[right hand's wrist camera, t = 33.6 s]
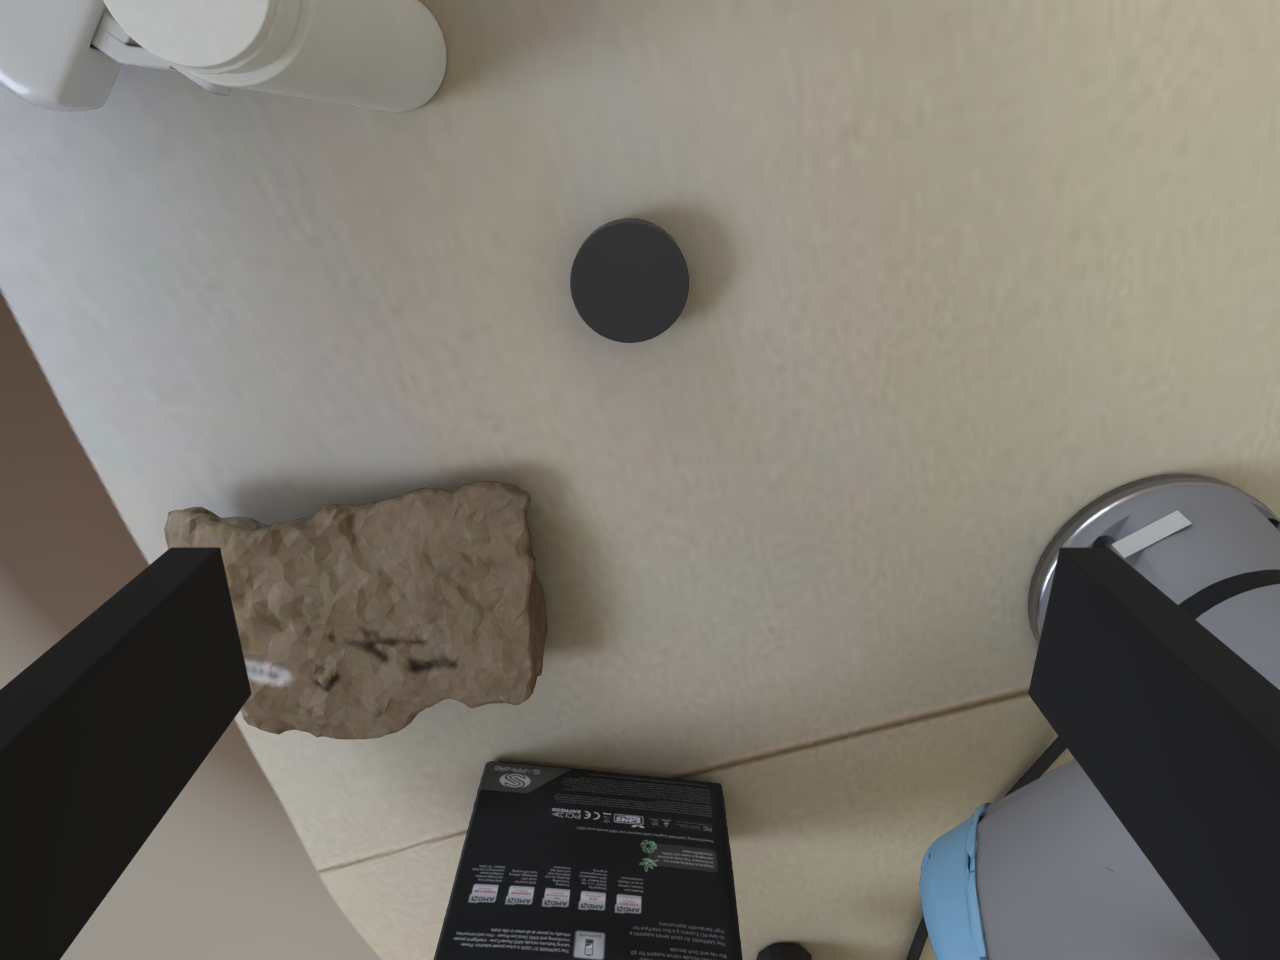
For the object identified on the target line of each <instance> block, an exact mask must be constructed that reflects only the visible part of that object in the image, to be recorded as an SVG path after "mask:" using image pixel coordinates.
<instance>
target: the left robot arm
mask: <svg viewBox="0 0 1280 960" xmlns="http://www.w3.org/2000/svg"><path fill="white" fill-rule="evenodd" d="M122 64H128V65H134V66H140V67H146V68H154V69H163V70H173V71H179V72H180V73H182V74H183V75H185V76H186V77H188V78H189V79H191V80H192V81H194V82H195V83H197V84H198V85H199V86H201V87H202V88H204V89H206V90H208V91H210V92H212V93H214V94H217V95H225V96H228V94H229V92H230V89H231V87H227V86H221V85H217V84H213V83H210V82H207V81H205V80H202V79H199V78H197V77H195V76H194V75H192V74H190V73H188V72H186V71H185V70H183V69H181V68H178V67H175V66H171V64H169V63H167V62H166V61H164V60H162V59H161V58H159V57H157V56H156V55H154V54H152V53H150V52H149V51H147V50H146V49H145V48H143V47H142V46H140V45H139V44H138V43H137V42H136V41H134V40H133V39H132V38H131V37H130V36H129V35H128V34H127V33H126V32H125V31H124V30H123V29H122V27H121V26H120V25H119V24H118V22H117V21H116V20H115V18H114V17H113V16H112V14H111V13H110V11H109V9H108V8H107V6H106V4H105V3H104V0H0V84H1V85H2V86H3V87H5V88H6V89H8V90H9V91H10V92H12V93H13V94H15V95H16V96H18V97H19V98H21V99H22V100H24V101H25V102H27V103H29V104H31V105H33V106H36V107H39V108H43V109H48V110H55V111H83V110H91V109H97V108H100V107H102V106H103V105H104V104H105V102H106V100H107V99H108V96H109V94H110V92H111V89H112V87H113V84H114V82H115V80H116V77H117V75H118V72H119V70H120V68H121V65H122Z"/></svg>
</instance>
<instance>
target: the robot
mask: <svg viewBox="0 0 1280 960" xmlns="http://www.w3.org/2000/svg"><path fill="white" fill-rule="evenodd" d="M757 960H811V954H809V953H808V952H807V951H806V950H805V949H804V948H802V947H801V946H800V945H786V944H778V945H773V946H769V947H767V948H766V949H764V950H763V951H761V952H760V953H758V957H757Z"/></svg>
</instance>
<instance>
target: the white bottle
mask: <svg viewBox="0 0 1280 960" xmlns="http://www.w3.org/2000/svg"><path fill="white" fill-rule="evenodd" d="M104 3H105V4H106V6H107V8H108V9H109V11H110V13H111V14H112V16H113V17H114V18H115V20H116V21H117V22H118V24H119V25H120V26H121V27H122V29H123V30H124V31H125V32H126V33H127V34H128V35H129V36H130V37H131V38H132V39H133V40H134V41H136V42H137V43H138V44H139V45H140V46H142V47H143V48H145V49H146V50H147V51H149V52H150V53H152V54H154V55H156V56H157V57H159V58H161V59H162V60H164V61H166V62H167V63H169V64H171V66H175V67H178V68H181V69H183V70H185V71H186V72H188V73H190V74H192V75H194V76H195V77H197V78H199V79H202V80H205V81H207V82H210V83H213V84H217V85H221V86H227V87H234V88H240V89H247V90H253V91H260V92H266V93H273V94H279V95H286V96H292V97H298V98H305V99H311V100H318V101H324V102H331V103H337V104H344V105H350V106H357V107H363V108H370V109H376V110H383V111H389V112H406V111H411V110H413V109H416V108H418V107H420V106H422V105H424V104H425V103H426V102H428V101H429V100H430V99H431V98H432V97H433V96H434V94H435V93H436V92H437V90H438V89H439V87H440V85H441V83H442V80H443V78H444V74H445V70H446V63H447V53H446V45H445V41H444V37H443V34H442V31H441V29H440V27H439V25H438V23H437V21H436V19H435V18H434V16H433V15H432V14H431V12H430V11H429V10H428V9H427V8H426V7H425V6H424V5H423V4H422V3H421V2H420V1H418V0H104Z"/></svg>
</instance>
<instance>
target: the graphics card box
mask: <svg viewBox="0 0 1280 960" xmlns="http://www.w3.org/2000/svg"><path fill="white" fill-rule="evenodd" d="M434 960H743V959H742V951H741V941H740V934H739V924H738V914H737V906H736V896H735V887H734V878H733V870H732V860H731V849H730V845H729V837H728V827H727V819H726V812H725V805H724V797H723V791H722V786H721V784H719V783H709V782H697V781H687V780H679V779H667V778H658V777H649V776H636V775H626V774H618V773H607V772H597V771H587V770H576V769H567V768H558V767H547V766H538V765H537V766H535V765H526V764H517V763H506V762H496V761H491V762H488V763H486V765H485V768H484V772H483V775H482V778H481V782H480V786H479V789H478V793H477V797H476V800H475V803H474V807H473V813H472V816H471V819H470V823H469V826H468V831H467V834H466V838H465V842H464V846H463V850H462V853H461V858H460V861H459V865H458V869H457V873H456V877H455V881H454V885H453V888H452V892H451V896H450V900H449V904H448V908H447V911H446V915H445V918H444V922H443V927H442V931H441V934H440V938H439V942H438V945H437V949H436V953H435V957H434Z"/></svg>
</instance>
